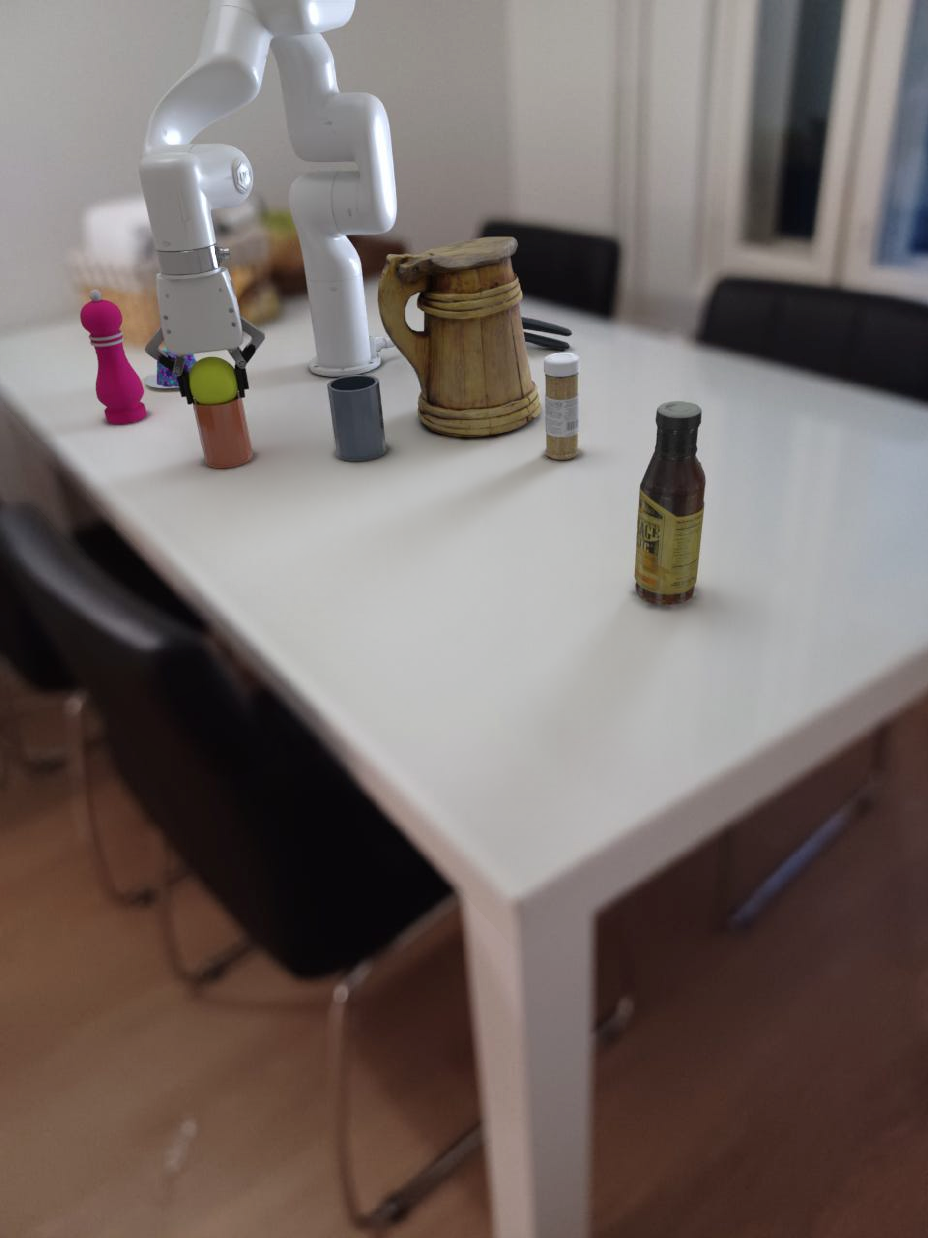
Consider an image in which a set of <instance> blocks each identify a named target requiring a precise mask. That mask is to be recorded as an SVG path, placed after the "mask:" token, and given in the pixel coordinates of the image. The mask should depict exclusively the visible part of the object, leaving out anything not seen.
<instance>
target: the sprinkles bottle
mask: <svg viewBox="0 0 928 1238" xmlns="http://www.w3.org/2000/svg"><path fill="white" fill-rule="evenodd" d="M543 372H544V376H545V381H544V382H545V394H544V408H545V409H544V411H545V413H544V414H545V416H544V417H545V435H546V437H545V439H546V441H545V442H546V448H545V454H546V457H548V458H550V459H553V460H560V461H561V460H562V461H565V460H571V459H574V458H575V457H577V456H578V455H579V452H580V450H579V423H580V422H579V421H580V419H579V417H580V416H579V414H580V413H579V412H580V411H579V409H580V401H579V399H580V398H579V397H580V395H579V394H580V393H579V372H580V357H579V356H578V355H577V354H575V353H572V352H557V353H556V352H555V353H551V354H548V355H546V356H545V357H544V358H543Z"/></svg>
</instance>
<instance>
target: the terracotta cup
mask: <svg viewBox="0 0 928 1238" xmlns="http://www.w3.org/2000/svg"><path fill="white" fill-rule="evenodd" d="M192 407H193V412H194V416H195V421H196V426H197V429H198V430H197V432H198V435H199V440H200V445H201V449H202V453H203V458H204V462H205V465H206V466H208V467H210V468H213V469H232V468H237V467H240V466H243V465H245V464H247V463H249V462H250V461H251V460H252V459H253V457H254V455H253V449H252V444H251V443H252V442H251V438H250V432H249V426H248V421H247V415H246V411H245V405H244V398H241V397H240V396H239V391H238V393H237V395H236V397H235V399H234V400H233V401H230V402H228V403H224V404H218V405H202V404H200V403H199V402H197V401H196V400H195V399H194V398H193V403H192Z"/></svg>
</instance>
